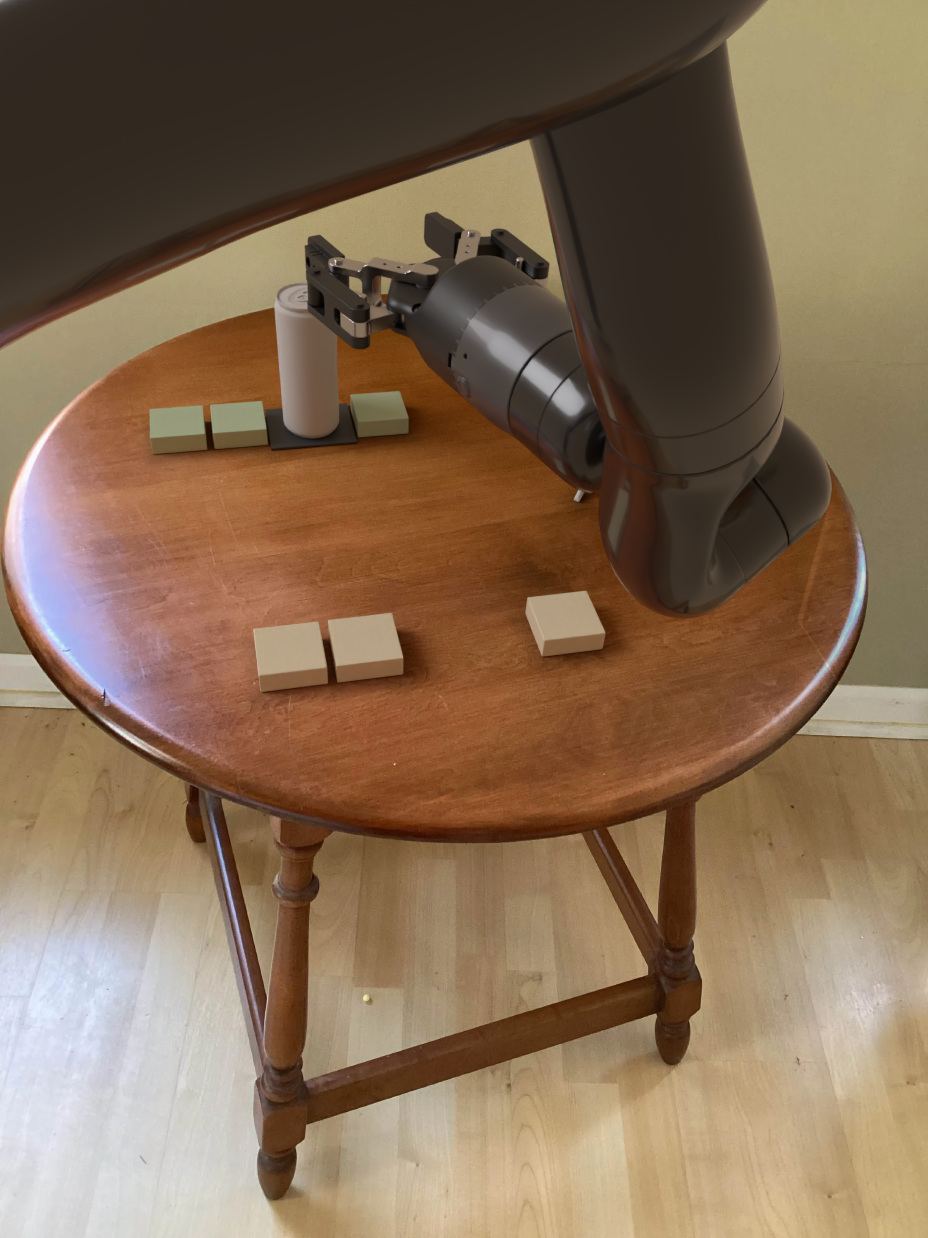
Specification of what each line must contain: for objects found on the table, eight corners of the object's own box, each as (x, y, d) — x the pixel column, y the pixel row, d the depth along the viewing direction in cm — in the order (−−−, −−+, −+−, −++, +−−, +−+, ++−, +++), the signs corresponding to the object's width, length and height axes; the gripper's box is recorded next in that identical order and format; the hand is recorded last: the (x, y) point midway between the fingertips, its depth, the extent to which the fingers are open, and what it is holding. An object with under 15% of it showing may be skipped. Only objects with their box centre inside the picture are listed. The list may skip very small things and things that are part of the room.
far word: (152, 459, 85) (149, 443, 84) (152, 419, 90) (149, 403, 89) (410, 438, 90) (410, 422, 88) (398, 401, 94) (398, 385, 93)
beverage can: (273, 432, 89) (262, 300, 81) (301, 405, 92) (292, 275, 84) (324, 446, 88) (317, 314, 79) (350, 418, 91) (346, 289, 83)
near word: (260, 692, 68) (258, 675, 67) (255, 645, 71) (253, 628, 70) (602, 649, 72) (606, 632, 71) (583, 606, 75) (586, 590, 74)
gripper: (623, 262, 59) (467, 162, 68) (404, 316, 53) (266, 197, 62) (603, 380, 64) (460, 271, 73) (401, 441, 58) (274, 314, 67)
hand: (371, 237), depth 68 cm, fingers open, 8 cm apart
